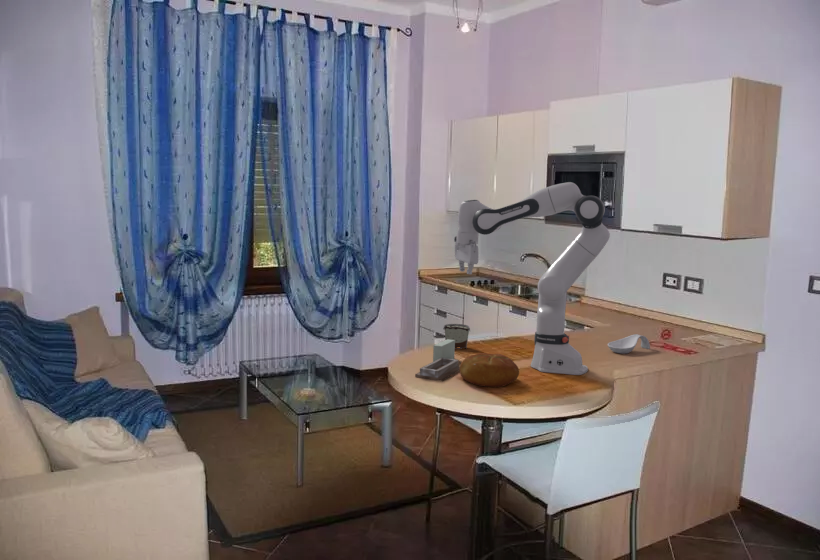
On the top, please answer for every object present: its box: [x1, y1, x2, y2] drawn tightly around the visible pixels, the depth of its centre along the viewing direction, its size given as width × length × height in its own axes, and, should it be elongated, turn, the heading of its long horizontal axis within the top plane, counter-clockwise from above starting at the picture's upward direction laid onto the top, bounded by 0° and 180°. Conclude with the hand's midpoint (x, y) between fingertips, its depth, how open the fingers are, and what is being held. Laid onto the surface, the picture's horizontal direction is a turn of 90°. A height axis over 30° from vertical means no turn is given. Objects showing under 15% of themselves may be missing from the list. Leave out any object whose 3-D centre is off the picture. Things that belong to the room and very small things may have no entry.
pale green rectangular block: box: [432, 339, 456, 362], centre depth 278 cm, size 4×14×8 cm, turn 154°
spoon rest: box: [607, 333, 651, 355], centre depth 307 cm, size 24×12×7 cm, turn 125°
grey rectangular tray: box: [414, 358, 460, 382], centre depth 259 cm, size 11×20×4 cm, turn 154°
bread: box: [459, 352, 520, 388], centre depth 250 cm, size 23×23×10 cm
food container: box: [443, 323, 471, 349], centre depth 306 cm, size 12×6×10 cm, turn 74°
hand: (465, 272), depth 279 cm, fingers open, 8 cm apart
